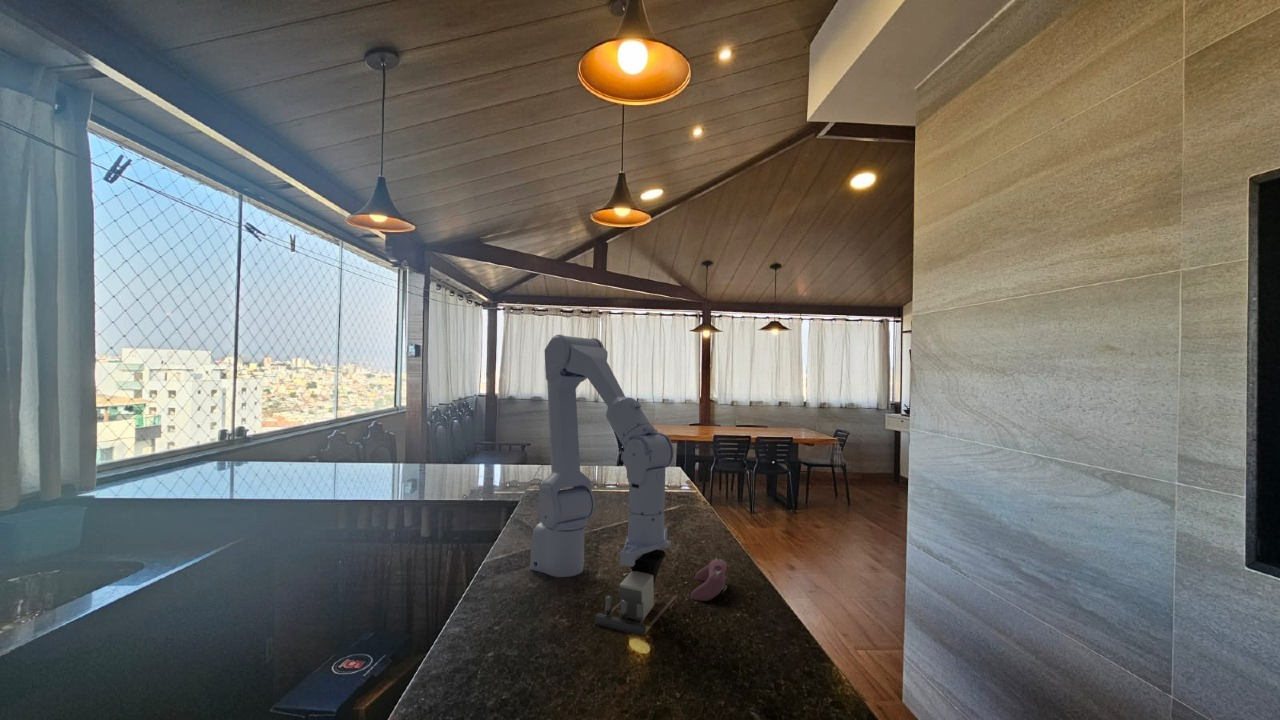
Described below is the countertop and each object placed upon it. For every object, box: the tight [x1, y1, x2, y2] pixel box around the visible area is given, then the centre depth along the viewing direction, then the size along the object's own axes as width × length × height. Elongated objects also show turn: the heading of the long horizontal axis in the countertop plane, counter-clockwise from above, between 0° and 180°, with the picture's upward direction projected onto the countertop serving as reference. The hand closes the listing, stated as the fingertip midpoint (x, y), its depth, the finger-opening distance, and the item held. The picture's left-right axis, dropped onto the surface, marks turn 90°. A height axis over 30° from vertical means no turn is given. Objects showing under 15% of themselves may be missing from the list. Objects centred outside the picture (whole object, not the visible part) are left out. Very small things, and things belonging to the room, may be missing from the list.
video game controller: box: [689, 557, 728, 602], centre depth 87 cm, size 10×5×7 cm, turn 169°
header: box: [594, 594, 647, 637], centre depth 73 cm, size 8×2×4 cm, turn 66°
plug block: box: [619, 570, 655, 621], centre depth 77 cm, size 4×5×5 cm
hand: (644, 598), depth 79 cm, fingers closed, pressing on plug block
